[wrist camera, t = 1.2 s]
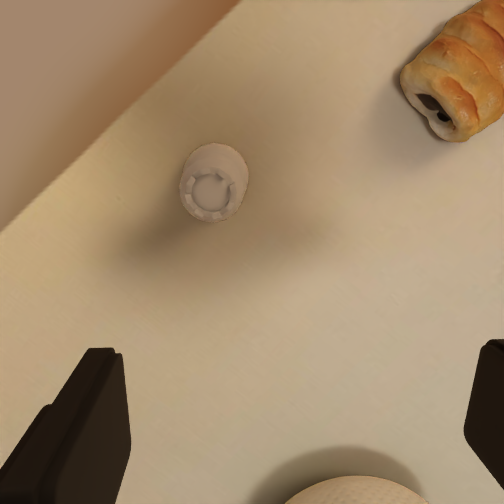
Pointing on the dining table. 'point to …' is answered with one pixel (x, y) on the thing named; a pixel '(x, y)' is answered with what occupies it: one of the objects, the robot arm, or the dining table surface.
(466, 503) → the dining table surface
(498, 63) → the pastry
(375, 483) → the cereal bowl
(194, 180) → the rook chess piece
